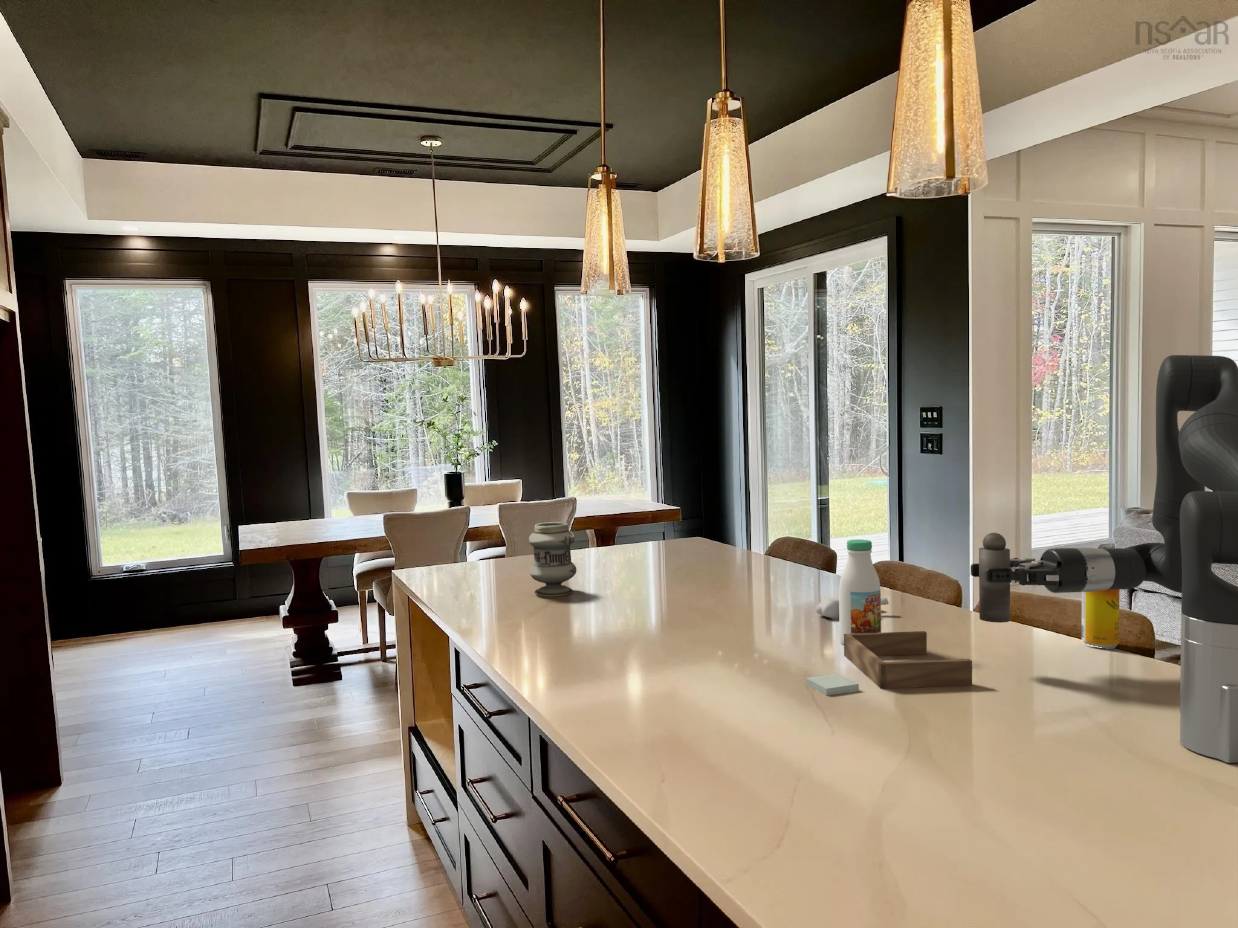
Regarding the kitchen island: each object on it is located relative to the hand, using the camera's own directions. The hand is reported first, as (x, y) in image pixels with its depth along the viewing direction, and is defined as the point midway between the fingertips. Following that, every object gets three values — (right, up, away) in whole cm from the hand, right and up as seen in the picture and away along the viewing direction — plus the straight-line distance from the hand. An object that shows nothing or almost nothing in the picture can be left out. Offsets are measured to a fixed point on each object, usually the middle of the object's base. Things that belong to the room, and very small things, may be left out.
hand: (979, 572), depth 143 cm
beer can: (+29, -16, +14) cm, 36 cm away
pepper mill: (+3, -8, 0) cm, 8 cm away
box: (-12, -17, +3) cm, 21 cm away
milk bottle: (-15, -16, +19) cm, 29 cm away
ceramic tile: (-27, -18, -6) cm, 33 cm away
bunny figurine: (-10, -15, +43) cm, 46 cm away
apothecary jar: (-78, -15, +75) cm, 109 cm away
